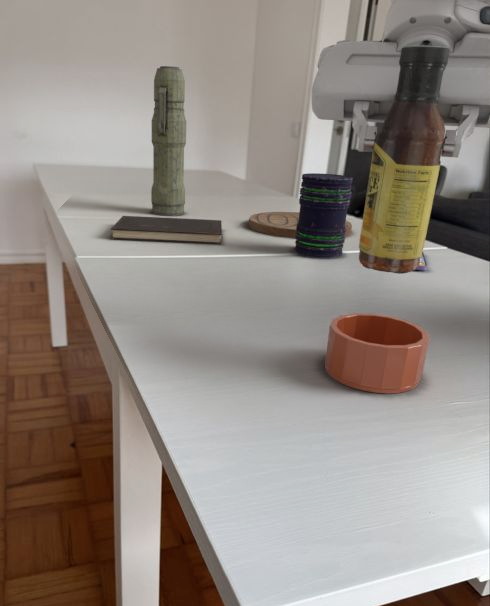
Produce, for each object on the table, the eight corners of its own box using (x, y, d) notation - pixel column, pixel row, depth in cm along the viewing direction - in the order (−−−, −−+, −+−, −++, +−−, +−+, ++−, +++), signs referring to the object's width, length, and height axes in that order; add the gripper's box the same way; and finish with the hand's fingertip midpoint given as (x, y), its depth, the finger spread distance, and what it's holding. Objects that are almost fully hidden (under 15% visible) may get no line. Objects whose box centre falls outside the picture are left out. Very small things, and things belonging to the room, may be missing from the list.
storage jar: (287, 254, 109) (294, 175, 103) (301, 245, 117) (309, 172, 112) (336, 261, 105) (347, 180, 100) (347, 251, 114) (358, 176, 108)
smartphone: (422, 254, 114) (427, 271, 101) (385, 250, 116) (385, 266, 103) (423, 250, 114) (428, 267, 100) (386, 245, 116) (386, 261, 102)
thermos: (188, 210, 152) (191, 69, 139) (179, 217, 142) (182, 65, 128) (157, 208, 154) (157, 68, 140) (146, 215, 143) (145, 64, 129)
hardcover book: (221, 244, 115) (221, 233, 114) (111, 239, 114) (110, 228, 113) (220, 229, 129) (221, 219, 128) (123, 225, 129) (123, 215, 128)
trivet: (339, 221, 147) (340, 214, 146) (361, 241, 124) (362, 233, 123) (246, 217, 147) (247, 209, 146) (250, 236, 124) (251, 227, 123)
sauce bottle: (363, 256, 60) (395, 51, 52) (422, 265, 58) (465, 51, 50) (349, 269, 55) (382, 42, 47) (414, 280, 52) (461, 42, 44)
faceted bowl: (373, 348, 66) (380, 308, 64) (440, 383, 58) (450, 339, 56) (306, 361, 61) (311, 319, 59) (368, 401, 53) (376, 354, 51)
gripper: (322, 14, 56) (295, 118, 51) (547, 14, 50) (539, 130, 45) (323, 67, 61) (298, 165, 57) (524, 72, 56) (516, 181, 51)
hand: (408, 149), depth 51 cm, fingers closed on sauce bottle, 6 cm apart
